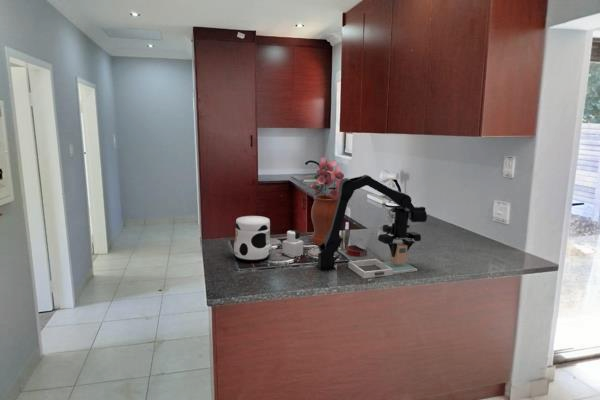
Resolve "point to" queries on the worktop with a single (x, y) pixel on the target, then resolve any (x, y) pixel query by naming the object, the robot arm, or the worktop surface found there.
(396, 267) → the lid
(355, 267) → the pale grey square frame
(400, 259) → the block
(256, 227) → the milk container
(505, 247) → the worktop surface
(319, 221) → the potted flower
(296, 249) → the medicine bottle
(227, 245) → the worktop surface
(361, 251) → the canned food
